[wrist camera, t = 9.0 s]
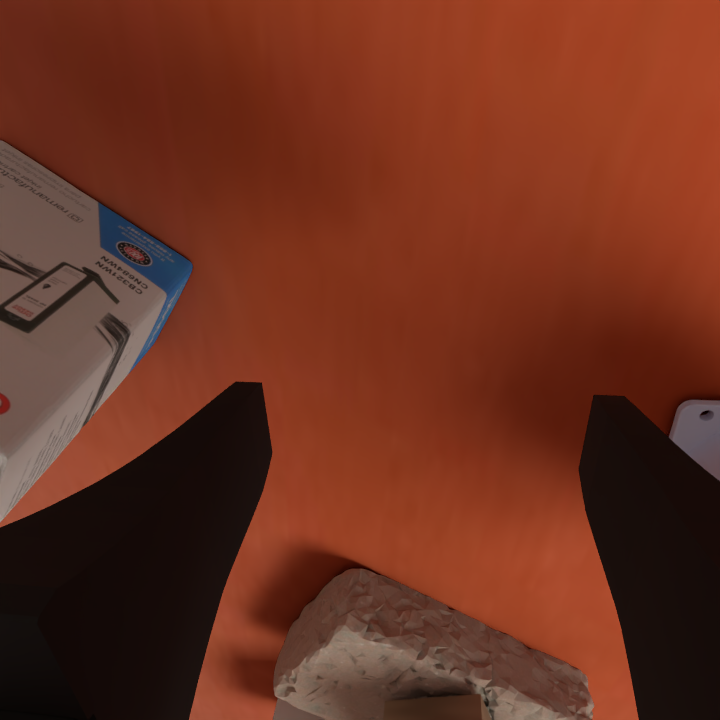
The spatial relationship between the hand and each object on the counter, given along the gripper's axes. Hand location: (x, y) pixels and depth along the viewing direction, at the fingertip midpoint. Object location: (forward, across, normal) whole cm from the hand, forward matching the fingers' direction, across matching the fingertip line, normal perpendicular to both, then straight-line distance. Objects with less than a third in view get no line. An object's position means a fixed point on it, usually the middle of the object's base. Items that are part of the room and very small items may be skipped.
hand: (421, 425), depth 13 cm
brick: (+11, -1, +25) cm, 27 cm away
